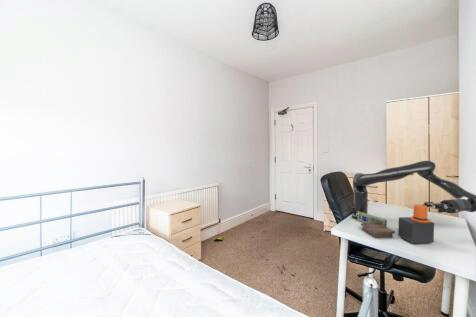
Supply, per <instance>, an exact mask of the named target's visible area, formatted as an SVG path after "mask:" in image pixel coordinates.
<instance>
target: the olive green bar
mask: <svg viewBox="0 0 476 317" xmlns="http://www.w3.org/2000/svg"><path fill="white" fill-rule="evenodd" d="M357 212H358V213H357V214H358V215H357V216H358V217H355V216H354V215H351V218H353V219H355V220H356V221H358V222H360V223H380V224H382V225H384V226H386V227H387V228H388V220H387V219H385V218H382V217H379V216H376V215H372V214H369V213H368V214H366V213H363V212H359V211H357Z"/></svg>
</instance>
